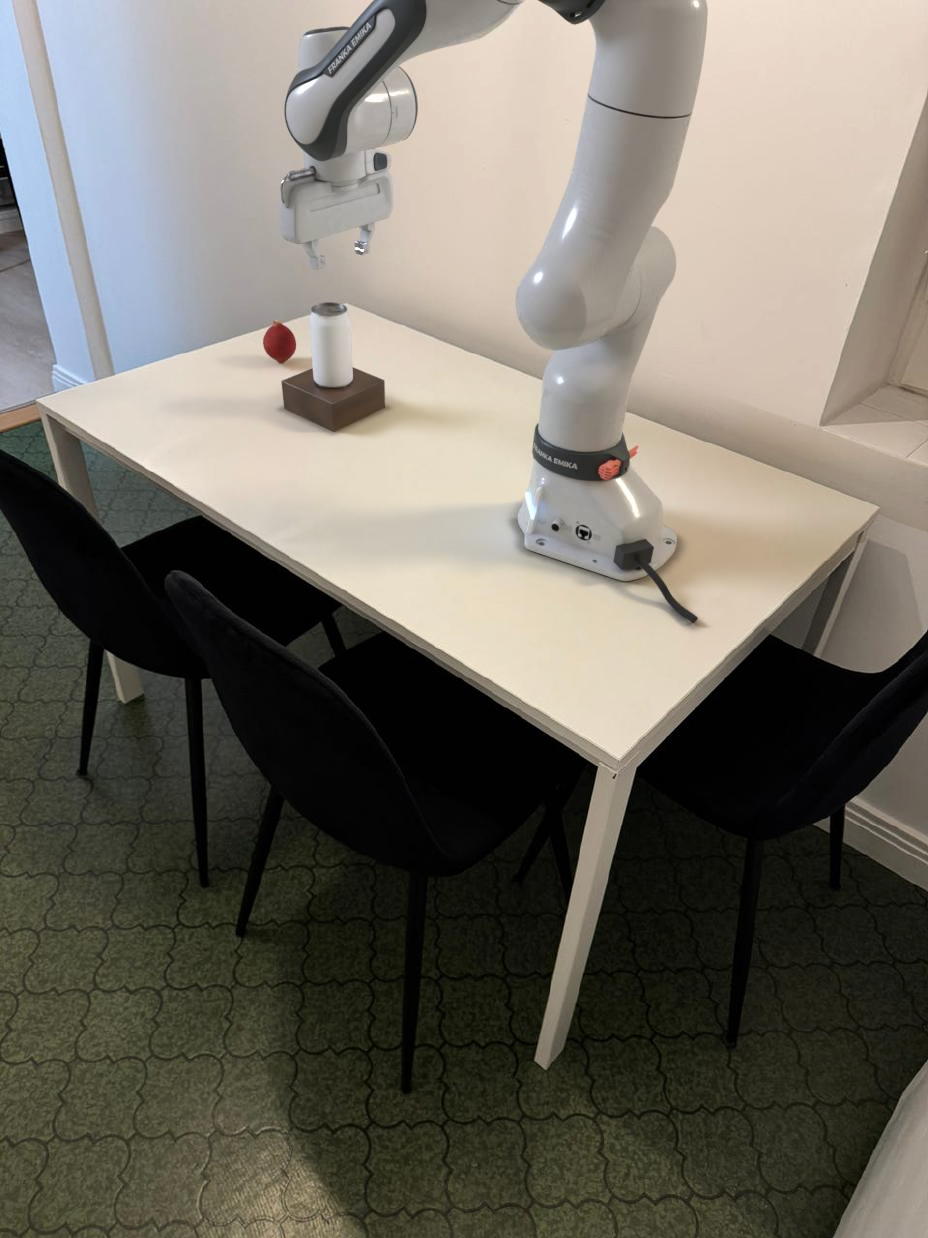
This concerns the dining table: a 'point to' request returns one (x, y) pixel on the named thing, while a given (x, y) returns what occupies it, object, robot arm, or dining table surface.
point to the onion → (279, 342)
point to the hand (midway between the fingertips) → (340, 260)
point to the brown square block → (333, 399)
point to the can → (331, 345)
